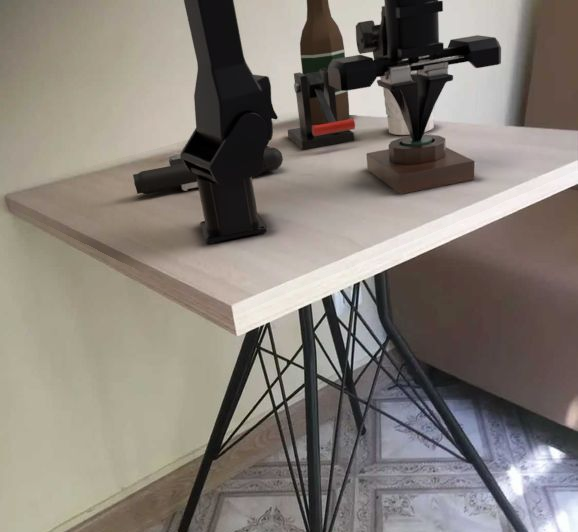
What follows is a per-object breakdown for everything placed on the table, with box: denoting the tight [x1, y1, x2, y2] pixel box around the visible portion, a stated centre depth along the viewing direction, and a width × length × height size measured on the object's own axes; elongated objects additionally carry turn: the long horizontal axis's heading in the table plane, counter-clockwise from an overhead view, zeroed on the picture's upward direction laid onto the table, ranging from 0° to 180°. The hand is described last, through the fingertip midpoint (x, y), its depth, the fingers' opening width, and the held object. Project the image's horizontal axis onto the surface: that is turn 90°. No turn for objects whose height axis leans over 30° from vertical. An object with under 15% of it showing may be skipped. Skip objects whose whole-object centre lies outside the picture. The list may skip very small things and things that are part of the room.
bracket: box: [287, 68, 355, 151], centre depth 106 cm, size 10×8×10 cm
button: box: [402, 136, 432, 146], centre depth 83 cm, size 4×4×2 cm
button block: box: [365, 134, 475, 195], centre depth 84 cm, size 12×9×4 cm
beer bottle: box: [299, 0, 350, 125], centre depth 114 cm, size 8×8×24 cm
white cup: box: [382, 59, 436, 136], centre depth 103 cm, size 8×8×10 cm
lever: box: [305, 71, 356, 136], centre depth 102 cm, size 12×6×2 cm, turn 13°
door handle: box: [132, 145, 284, 195], centre depth 97 cm, size 3×20×16 cm
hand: (416, 139), depth 82 cm, fingers closed, pressing on button
